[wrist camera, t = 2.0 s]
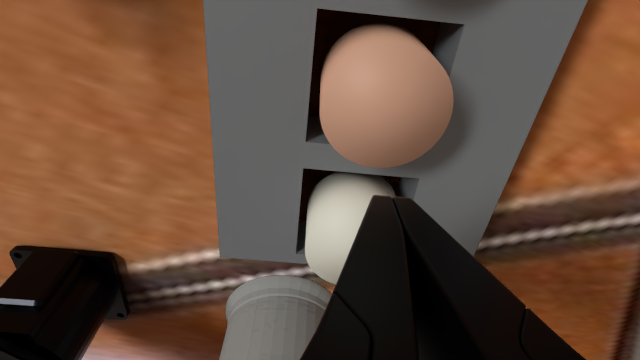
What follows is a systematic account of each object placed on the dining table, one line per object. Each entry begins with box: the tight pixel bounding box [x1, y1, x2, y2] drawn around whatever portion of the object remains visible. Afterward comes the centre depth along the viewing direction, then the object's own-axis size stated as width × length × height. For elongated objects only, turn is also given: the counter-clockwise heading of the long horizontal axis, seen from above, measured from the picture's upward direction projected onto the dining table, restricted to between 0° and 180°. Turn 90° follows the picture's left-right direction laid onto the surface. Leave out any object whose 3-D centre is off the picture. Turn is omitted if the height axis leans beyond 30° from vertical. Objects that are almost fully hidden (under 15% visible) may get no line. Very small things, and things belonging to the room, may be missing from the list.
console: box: [203, 0, 588, 264], centre depth 17 cm, size 21×14×3 cm, turn 174°
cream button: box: [305, 171, 396, 284], centre depth 19 cm, size 5×5×3 cm
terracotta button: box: [320, 22, 454, 168], centre depth 15 cm, size 5×5×3 cm
